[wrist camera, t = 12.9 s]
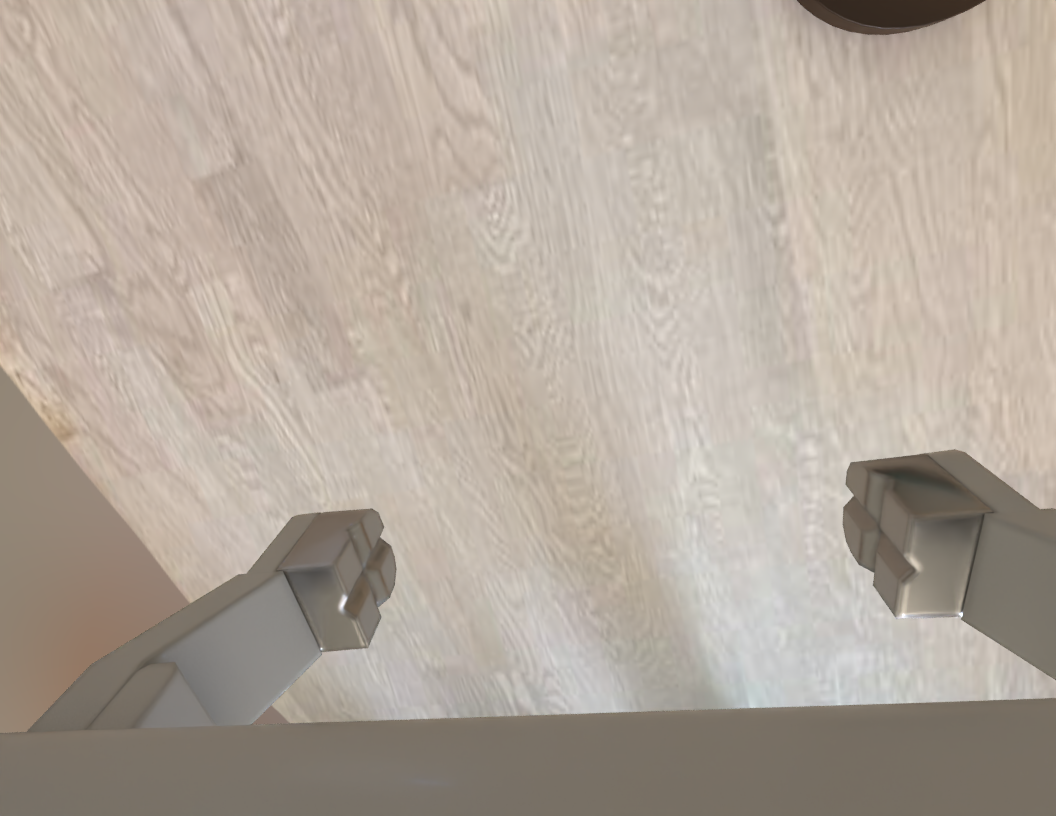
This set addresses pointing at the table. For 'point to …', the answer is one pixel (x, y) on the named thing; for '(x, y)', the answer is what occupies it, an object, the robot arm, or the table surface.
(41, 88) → the table surface
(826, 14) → the turntable
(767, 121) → the table surface
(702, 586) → the table surface
